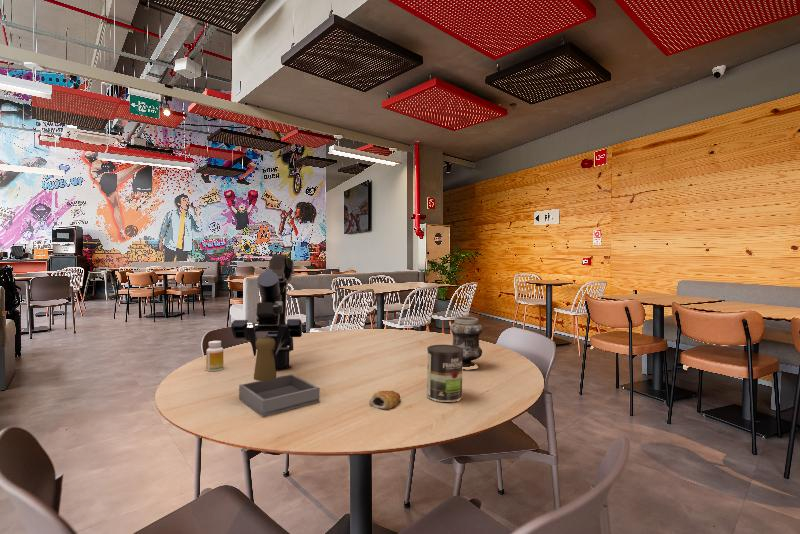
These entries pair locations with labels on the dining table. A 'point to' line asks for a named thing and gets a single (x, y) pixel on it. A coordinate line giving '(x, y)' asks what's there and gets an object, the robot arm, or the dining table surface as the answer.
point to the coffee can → (444, 373)
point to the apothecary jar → (467, 338)
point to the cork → (265, 359)
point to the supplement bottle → (214, 356)
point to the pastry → (385, 399)
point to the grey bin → (278, 394)
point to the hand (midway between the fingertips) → (264, 354)
